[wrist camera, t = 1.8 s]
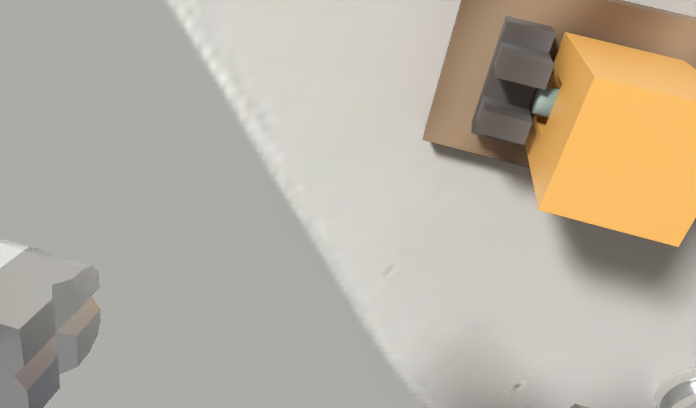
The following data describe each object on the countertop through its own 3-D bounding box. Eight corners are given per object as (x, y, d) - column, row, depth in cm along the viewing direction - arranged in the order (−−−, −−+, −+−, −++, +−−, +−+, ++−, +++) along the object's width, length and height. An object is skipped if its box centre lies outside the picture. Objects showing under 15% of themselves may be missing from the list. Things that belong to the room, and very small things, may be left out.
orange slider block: (684, 60, 24) (755, 116, 18) (631, 166, 26) (678, 247, 20) (564, 31, 24) (594, 76, 18) (524, 139, 27) (538, 210, 21)
